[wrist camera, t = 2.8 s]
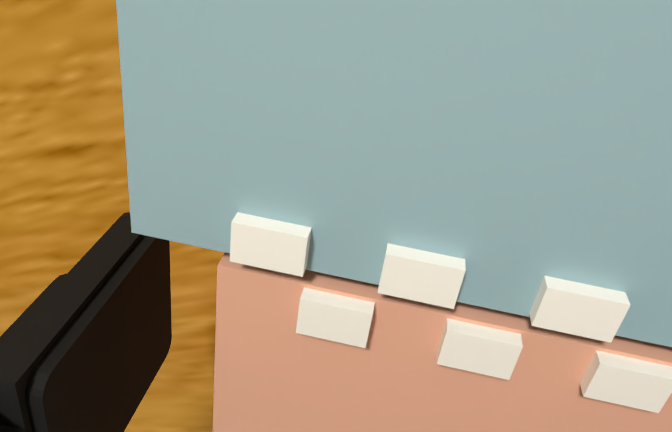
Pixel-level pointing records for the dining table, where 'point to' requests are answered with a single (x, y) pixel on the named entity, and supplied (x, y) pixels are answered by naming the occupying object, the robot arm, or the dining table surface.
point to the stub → (415, 364)
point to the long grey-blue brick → (416, 147)
